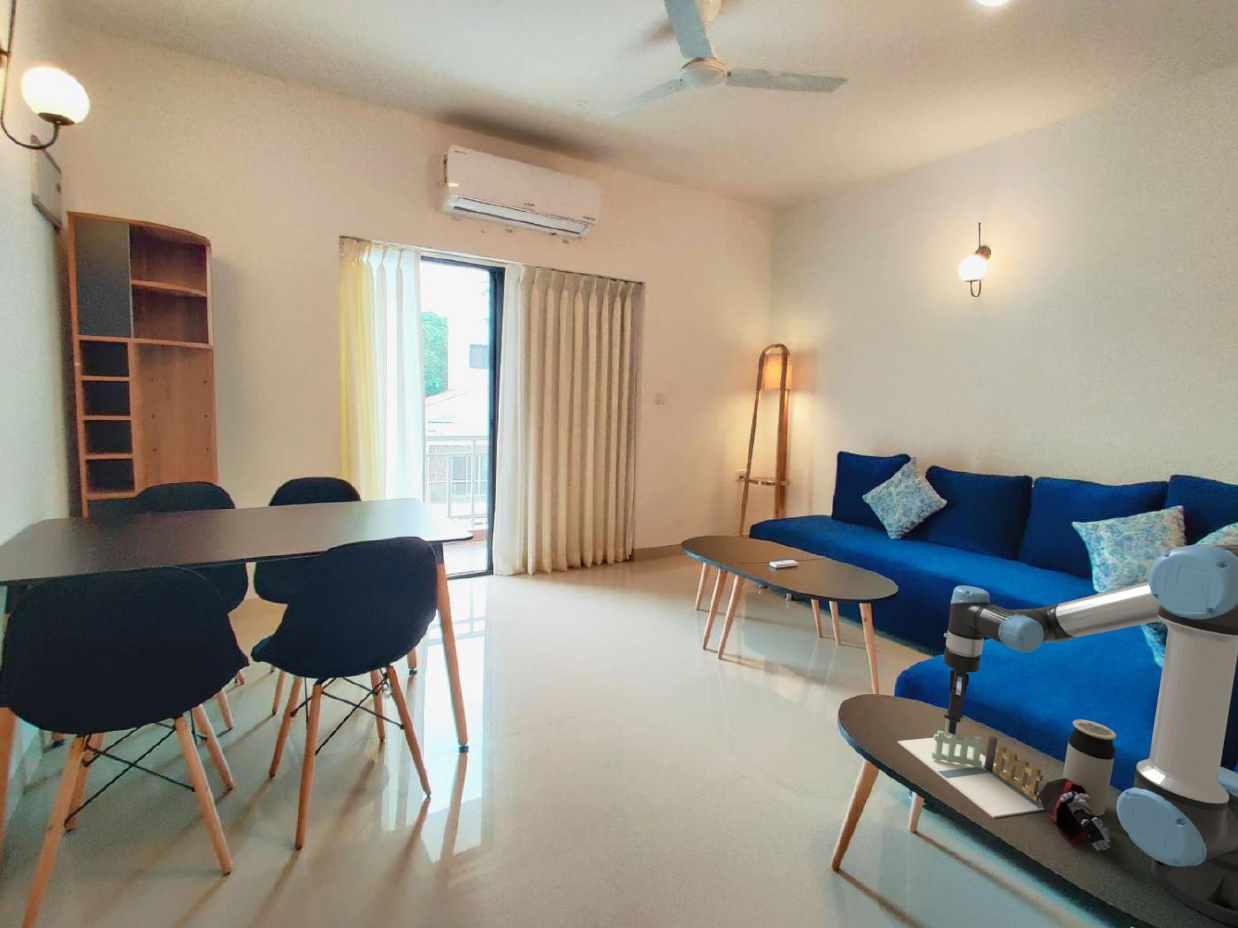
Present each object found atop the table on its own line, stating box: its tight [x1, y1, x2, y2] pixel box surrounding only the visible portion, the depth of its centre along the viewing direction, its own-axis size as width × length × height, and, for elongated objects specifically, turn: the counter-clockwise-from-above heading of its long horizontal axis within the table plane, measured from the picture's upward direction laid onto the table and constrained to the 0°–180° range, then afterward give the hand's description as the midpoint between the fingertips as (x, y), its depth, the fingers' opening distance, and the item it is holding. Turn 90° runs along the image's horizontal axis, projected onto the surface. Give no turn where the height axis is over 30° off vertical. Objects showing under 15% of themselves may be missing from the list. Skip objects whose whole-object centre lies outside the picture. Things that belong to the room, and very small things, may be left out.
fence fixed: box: [984, 734, 1044, 801], centre depth 137 cm, size 13×2×8 cm, turn 16°
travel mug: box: [1062, 719, 1117, 817], centre depth 132 cm, size 8×8×18 cm
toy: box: [1038, 777, 1111, 852], centre depth 123 cm, size 12×9×15 cm
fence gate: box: [931, 729, 986, 767], centre depth 144 cm, size 11×1×7 cm, turn 80°
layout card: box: [897, 737, 1045, 819], centre depth 141 cm, size 28×18×1 cm, turn 16°
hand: (949, 743), depth 145 cm, fingers closed
